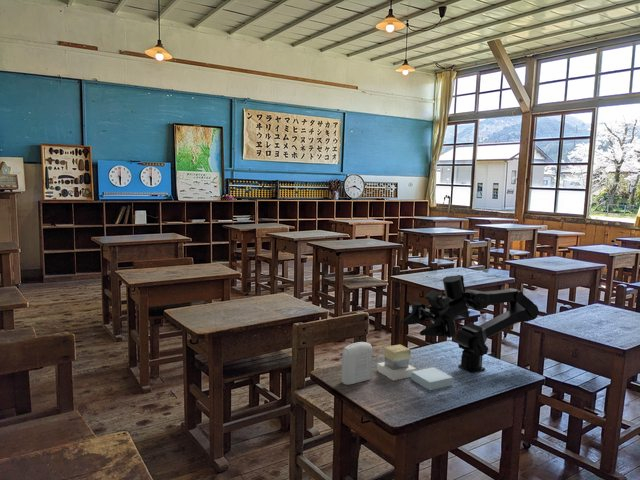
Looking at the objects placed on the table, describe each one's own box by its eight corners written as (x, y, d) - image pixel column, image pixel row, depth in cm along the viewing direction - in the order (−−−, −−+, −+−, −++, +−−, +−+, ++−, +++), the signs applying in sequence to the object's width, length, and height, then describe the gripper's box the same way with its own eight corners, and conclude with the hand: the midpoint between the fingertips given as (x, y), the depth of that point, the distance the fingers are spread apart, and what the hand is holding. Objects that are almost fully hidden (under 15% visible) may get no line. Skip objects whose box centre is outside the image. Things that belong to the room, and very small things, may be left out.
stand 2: (433, 374, 159) (433, 367, 158) (452, 385, 151) (452, 377, 150) (411, 379, 154) (411, 371, 154) (429, 390, 147) (430, 382, 146)
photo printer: (364, 375, 157) (366, 338, 156) (373, 379, 154) (374, 342, 152) (339, 381, 152) (340, 343, 150) (347, 386, 148) (348, 347, 146)
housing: (399, 361, 163) (400, 344, 162) (409, 367, 158) (410, 349, 157) (383, 364, 160) (383, 347, 159) (393, 370, 155) (394, 352, 154)
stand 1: (398, 366, 165) (399, 359, 165) (415, 375, 157) (415, 368, 157) (377, 370, 161) (377, 363, 161) (393, 380, 153) (393, 373, 153)
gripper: (428, 280, 163) (390, 297, 158) (467, 296, 147) (425, 315, 141) (433, 309, 167) (396, 327, 161) (471, 328, 150) (431, 348, 144)
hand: (411, 328), depth 152 cm, fingers open, 9 cm apart
